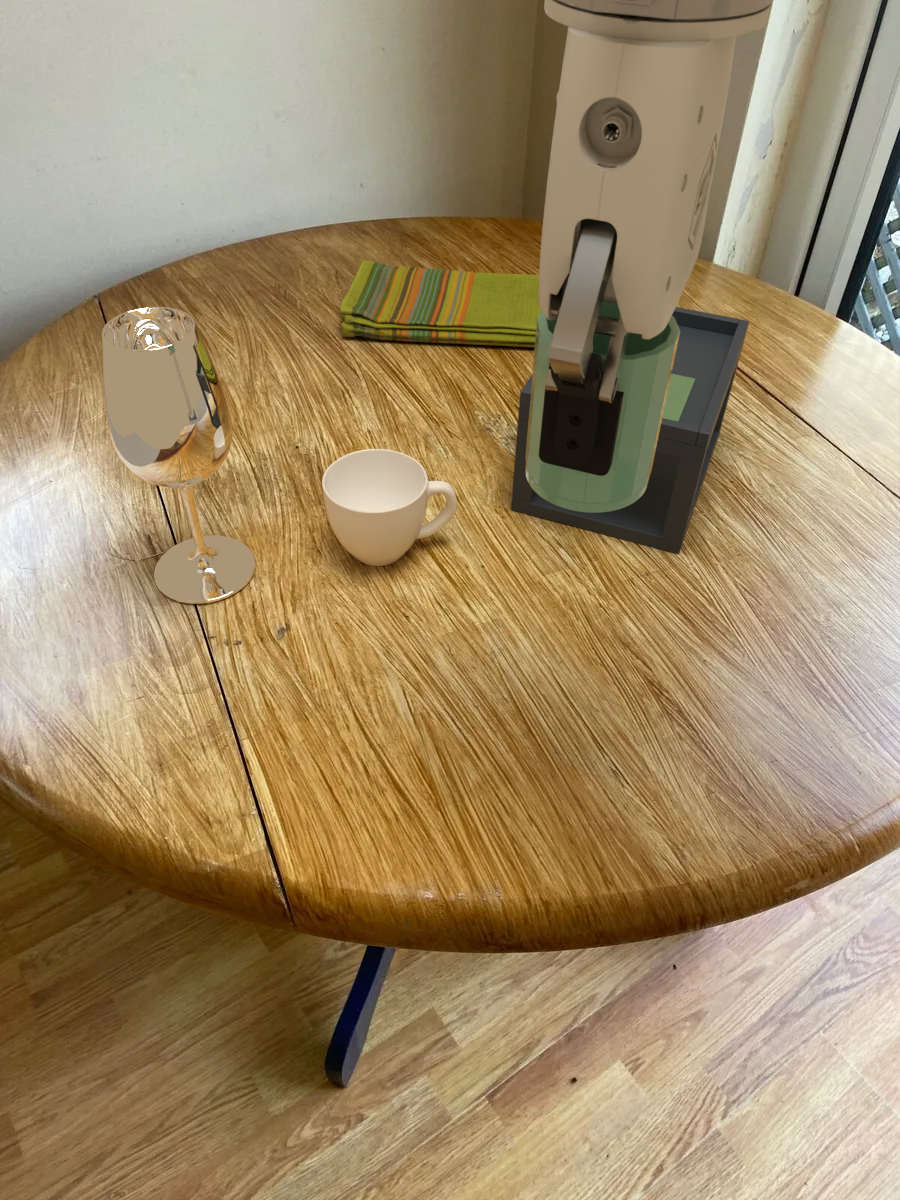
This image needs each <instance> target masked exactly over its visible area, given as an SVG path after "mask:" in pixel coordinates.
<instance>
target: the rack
mask: <svg viewBox="0 0 900 1200" xmlns="http://www.w3.org/2000/svg"><path fill="white" fill-rule="evenodd" d="M679 307H680V306H679ZM679 307H676V308H675V310H674V312H673V314H672V316H673V317H674V318H675V320H676V322H677V325H678V327H679V329H680V335H679V340H678V345H677V349H676V354H675V359H674V364H673V369H672V374H671V378H670V383H669V388H668V393H667V398H666V403H665V408H664V412H663V417H662V422H661V427H660V432H659V437H658V441H657V446H656V451H655V456H654V461H653V466H652V471H651V474H650V476H649V481H648V485H647V488H646V490H645V492H644V493H643V495H642V496H641V497H640V498H639V499H638V500H637V501H635V502H634V503H632V504H631V505H629V506H627V507H624V508H621V509H618V510H614V511H610V512H601V513H587V512H578V511H573V510H569V509H565V508H562V507H559V506H557V505H554V504H552V503H550V502H548V501H546V500H545V499H543V498H542V497H541V496H539V495H538V494H537V493H536V492H535V491H534V490H533V489H532V488H531V486H530V485H529V483H528V481H527V478H526V474H525V467H526V459H525V456H526V444H527V432H528V421H529V409H530V397H531V386H532V374H533V372H532V374H531V375H530V376H529V378H528V380H527V381H526V383H525V384H524V385H523V387H522V388H521V390H520V392H519V403H518V414H517V416H518V417H517V429H516V442H515V454H514V465H513V466H514V467H513V477H512V478H513V479H512V480H513V481H512V491H511V503H510V510H511V511H514V512H517V513H520V514H524V515H529V516H533V517H536V518H541V519H545V520H547V521H551V522H555V523H559V524H563V525H567V526H571V527H575V528H578V529H582V530H586V531H589V532H594V533H598V534H601V535H604V536H609V537H612V538H616V539H620V540H624V541H627V542H632V543H636V544H639V545H643V546H646V547H651V548H654V549H658V550H662V551H666V552H670V553H674V554H678V555H679V554H680V553H681V549H682V546H683V543H684V541H685V538H686V536H687V531H688V528H689V526H690V523H691V519H692V516H693V513H694V510H695V507H696V504H697V502H698V500H699V496H700V493H701V490H702V487H703V484H704V481H705V478H706V475H707V472H708V469H709V466H710V463H711V460H712V457H713V454H714V452H715V448H716V444H717V442H718V440H719V436H720V433H721V430H722V425H723V422H724V418H725V415H726V411H727V407H728V403H729V399H730V396H731V392H732V388H733V384H734V381H735V377H736V374H737V369H738V367H739V361H740V360H741V359H740V358H741V356H742V355H741V354H742V351H743V347H744V343H745V340H746V336H747V332H748V328H749V324H750V320H746V319H741V318H737V317H731V316H725V315H721V314H716V313H710V312H705V311H700V310H695V309H689V308H683V307H680V308H679Z"/></svg>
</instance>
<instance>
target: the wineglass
mask: <svg viewBox="0 0 900 1200" xmlns="http://www.w3.org/2000/svg"><path fill="white" fill-rule="evenodd" d="M203 339H204V338H203V336H202V335H201V332H200V331H199V328H198V326H197V324H196V322H195V319H194V318H193V317H192V316H191V315H190V314H188V313H187V312H185V311H183V310H180V309H178V308H174V307H168V306H148V307H141V308H135V309H132V310H128V311H125V312H122V313H120V314H118V315H116V316H114V317H113V318H111V319H110V320H109V321H107V322H106V324H105V325H104V326H103V328H102V331H101V361H102V362H101V363H102V364H101V365H102V382H103V397H104V407H105V409H104V410H105V414H106V415H105V416H106V420H107V425H108V426H107V427H108V430H109V435H110V439H111V443H112V445H113V447H114V449H115V452H116V454H117V456H118V457H119V459H120V461H122V463H123V464H124V465H125V467H126V468H127V469H128V470H129V471H130V472H131V473H133V474H134V475H135V476H137V477H138V478H140V479H142V480H143V481H145V482H146V483H148V484H151V485H154V486H158V487H162V488H166V489H177V490H179V493H180V494H181V495H180V496H181V497H182V500H183V503H184V507H185V510H186V514H187V519H188V523H189V527H190V530H191V535H192V537H191V538H189V539H186V540H182V541H181V542H179V543H177V544H175V545H173V546H172V547H171V548H169V549H167V550H166V552H164V553H163V554H162V555H161V556H160V558H159V560H158V561H157V562H156V565H155V568H154V572H153V579H154V584H155V585H156V587H157V588H158V590H159V591H160V592H161V593H162V594H163V596H166V597H167V598H169V599H171V600H173V601H176V602H178V603H183V604H188V605H189V604H191V605H203V604H211V603H215V602H219V601H222V600H224V599H227V598H230V597H231V596H233V595H235V594H237V593H238V592H239V591H241V590H242V589H244V588H245V587H246V586H247V585H248V583H250V581H251V580H252V577H254V574H255V571H256V566H257V563H256V558H255V554H254V553H253V551H252V550H251V548H250V547H248V546H247V545H246V544H245V543H244V542H242V541H240V540H239V539H236V538H234V537H230V536H227V535H226V536H225V535H215V534H211V535H210V534H209V535H203V532H202V531H203V530H202V527H201V522H200V518H199V514H198V509H197V505H196V500H195V486H196V485H197V486H198V484H199V485H200V484H201V483H203V482H204V481H206V480H207V479H209V478H211V476H212V475H214V474H215V473H216V472H217V471H218V470H219V469H220V468H221V466H223V464H224V462H225V460H226V459H227V458H228V455H229V453H230V450H231V446H232V442H233V437H234V436H233V433H234V432H233V419H232V415H231V410H230V406H229V402H228V399H227V395H226V393H225V391H224V387H223V385H222V382H221V378H220V377H219V374H218V372H217V370H216V367H215V364H214V362H213V360H212V358H211V355H210V353H209V350H208V348H207V346H206V343H205V341H204V340H203Z"/></svg>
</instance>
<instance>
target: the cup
mask: <svg viewBox="0 0 900 1200" xmlns="http://www.w3.org/2000/svg"><path fill="white" fill-rule="evenodd" d="M325 469H326V470H325V471H324V473H323V475H322V477H321V488H322V498H323V505H324V509H325V514H326V518H327V521H328V523H329V526H330V528H331V530H332V532H333V535H334V536H335V538H336V539H337V540H338V542H339V543H340V544H341V546H342V547H343V548H344V549H345V550H346V551H347V552H348V553H349V554H350V555H351V556H353V558H355V559H356V560H358V561H359V562H360V563H362V564H364V565H367V566H373V567H382V566H388V565H391V564H393V563H395V562H397V561H398V560H400V559H401V558H402V557H403V556H404V555H405V554H407V552H408V551H409V550H410V548H411V547H412V546H413V545H414V543H415V541H416V540H421V539H426V538H428V537H431V536H433V535H435V534H436V533H437V532H439V531H440V530H442V529H443V528H444V527H446V525H447V524H448V523H450V521H451V520H452V519H453V518H454V516H455V514H456V512H457V509H458V499H457V494H456V491H455V489H454V487H453V486H452V485H451V483H449V482H447V481H443V480H429V478H428V474H427V471H426V469H425V467H424V466H423V465H422V464H421V463H420V462H419V461H418V460H417V459H415V458H414V457H412V456H410V455H409V454H407V453H404V452H401V451H397V450H392V449H387V448H367V449H362V450H357V451H353V452H350V453H347V454H345V455H343V456H340V457H339V458H337V459H336V460H334V461H333V462H332V463H330V464H329V466H327V468H325ZM433 495H443V496H444V498H445V504H444V507H443V508H442V510H441V511H440V512H439V514H437V515H436V516H435V517H434V518H433V519H432V520H431V521H429V522H428V523H426V524H424V522H425V519H426V514H427V509H428V502H429V499H430V497H432V496H433Z"/></svg>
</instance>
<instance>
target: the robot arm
mask: <svg viewBox="0 0 900 1200" xmlns="http://www.w3.org/2000/svg"><path fill="white" fill-rule="evenodd" d="M772 1H773V0H544V2H543V3H544V4H543V10H544V13H545V15H546V16H547V17H548V18H550V19H551V20H553V21H555V23H558V24H561V25H564V26H566V27H567V32H566V33H567V34H566V40H565V47H564V54H563V58H562V59H563V60H562V68H561V75H560V80H559V88H558V91H557V93H556V100H555V101H556V109H555V116H554V117H555V118H554V122H553V123H554V124H553V132H552V139H551V148H550V156H549V162H548V173H547V181H546V190H545V200H544V210H543V218H542V228H541V240H540V251H539V268H538V269H539V270H538V275H539V307H540V309H541V311H542V312H543V314H544V315H545V316H546V318H548V319H549V320H550V321H553V320H555V319H556V318H557V317H558V318H557V322H556V326H555V329H554V333H553V336H552V340H551V344H550V348H549V354H548V360H549V364H548V365H549V366H548V372H547V377H546V384H545V394H544V405H543V415H542V425H541V435H540V445H539V458H540V459H541V461H543V462H544V463H547V464H551V465H556V466H560V467H564V468H568V469H573V470H577V471H581V472H586V473H590V474H594V475H598V476H604V475H606V474H607V473H608V472H609V470H610V467H611V465H612V460H613V454H614V448H615V442H616V437H617V431H618V425H619V419H620V413H621V407H622V401H623V395H624V392H621V391H616V390H617V386H618V382H619V377H620V373H621V368H622V364H623V359H624V355H625V350H626V346H627V341H628V337H629V333H636V334H642V339H651V338H653V337H655V336H657V335H658V334H659V333H661V332H662V331H663V330H664V329H665V327H666V326H667V324H668V322H669V320H670V318H671V316H672V314H673V312H674V310H675V308H676V305H677V303H679V301H680V299H681V296H682V294H683V293H684V290H685V288H686V285H687V283H688V282H689V279H690V276H691V275H692V272H693V270H694V267H695V265H696V262H697V259H698V256H699V254H700V249H701V246H702V242H703V235H704V230H705V225H706V224H705V223H706V219H707V211H708V206H709V201H710V193H711V190H712V189H711V188H712V183H713V178H714V172H715V166H716V161H717V155H718V150H719V144H720V140H721V135H722V128H723V124H724V123H723V122H724V119H725V118H724V117H725V112H726V106H727V101H728V94H729V90H730V89H729V87H730V82H731V76H732V69H733V63H734V62H733V61H734V53H735V47H736V38H738V37H742V36H747V35H749V34H750V33H753V32H755V33H756V32H758V31H760V30H761V29H763V28H764V27H766V25H767V23H768V20H769V16H770V11H771V7H772ZM603 301H605V302H611V303H616V304H618V308H619V311H620V315H619V319H617V318H612V317H607V316H602V315H599V313H600V309H601V306H602V302H603ZM594 333H597V334H602V335H608V336H611V338H610V343H609V348H608V352H607V357H606V362H605V366H604V364H603V361H602V358H601V355H600V354H595V353H592V352H593V336H594Z"/></svg>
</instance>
